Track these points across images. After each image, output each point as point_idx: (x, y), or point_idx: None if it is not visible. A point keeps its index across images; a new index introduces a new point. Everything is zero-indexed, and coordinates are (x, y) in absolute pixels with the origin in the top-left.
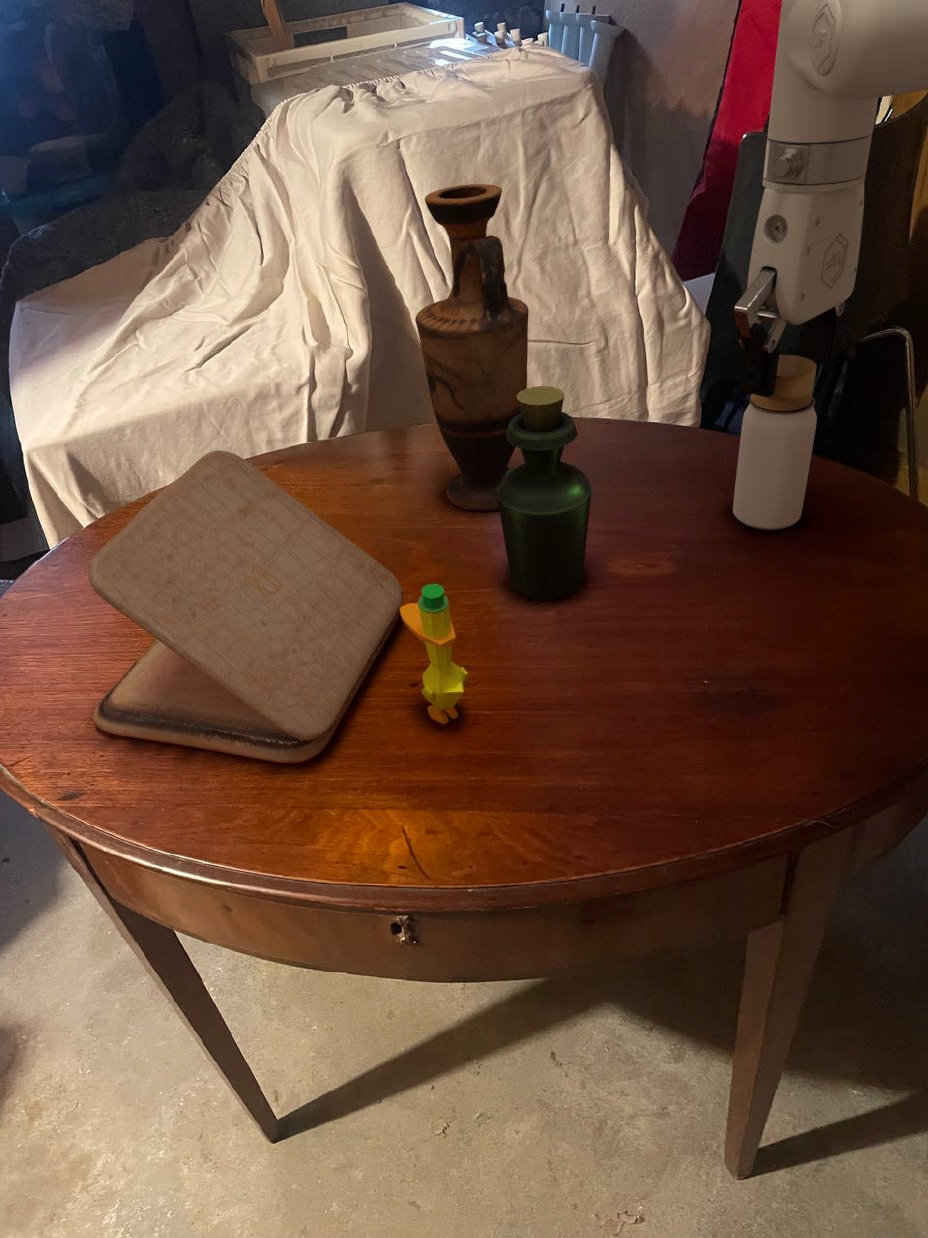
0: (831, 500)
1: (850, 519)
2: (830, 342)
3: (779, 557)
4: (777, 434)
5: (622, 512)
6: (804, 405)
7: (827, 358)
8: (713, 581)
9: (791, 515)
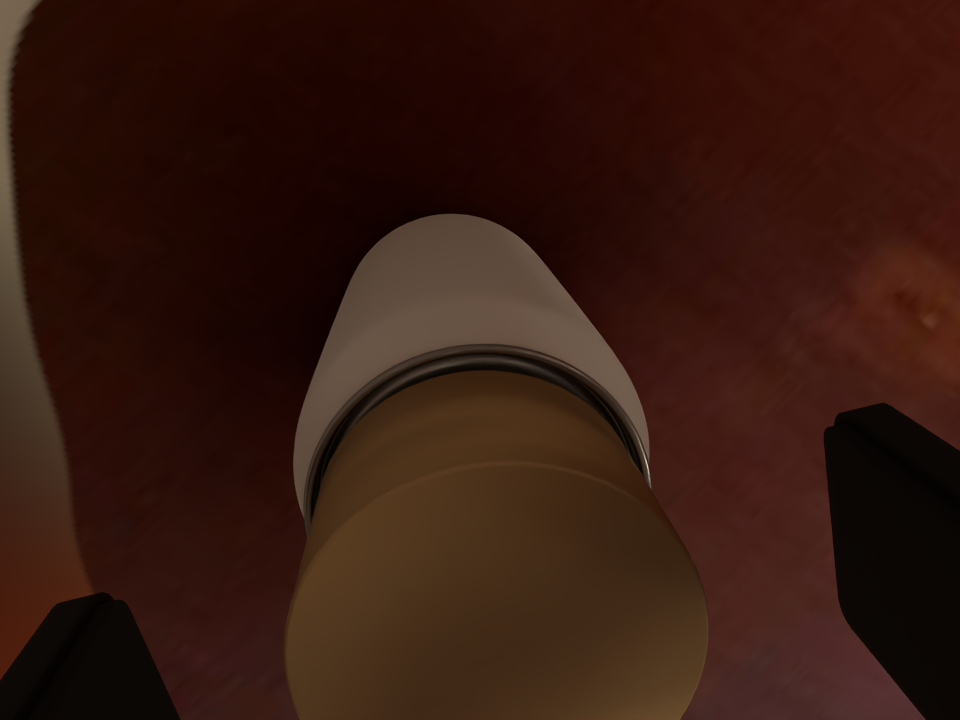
0: (207, 263)
1: (247, 135)
2: (60, 697)
3: (605, 106)
4: (609, 348)
5: (752, 562)
6: (473, 373)
7: (114, 610)
8: (850, 130)
9: (460, 218)
